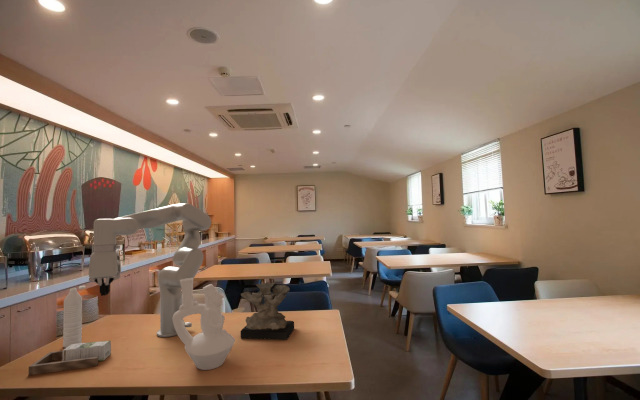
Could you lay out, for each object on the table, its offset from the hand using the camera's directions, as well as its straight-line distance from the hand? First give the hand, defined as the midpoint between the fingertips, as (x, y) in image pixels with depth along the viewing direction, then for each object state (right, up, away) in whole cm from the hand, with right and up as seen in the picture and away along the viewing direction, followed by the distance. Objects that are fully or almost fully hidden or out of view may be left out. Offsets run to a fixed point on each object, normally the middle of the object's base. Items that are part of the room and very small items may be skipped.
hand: (104, 294), depth 121 cm
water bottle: (-24, -27, +15) cm, 39 cm away
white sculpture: (+44, -23, -9) cm, 51 cm away
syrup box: (+2, -22, -1) cm, 22 cm away
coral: (+62, -25, +22) cm, 70 cm away
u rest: (-9, -25, -4) cm, 27 cm away
